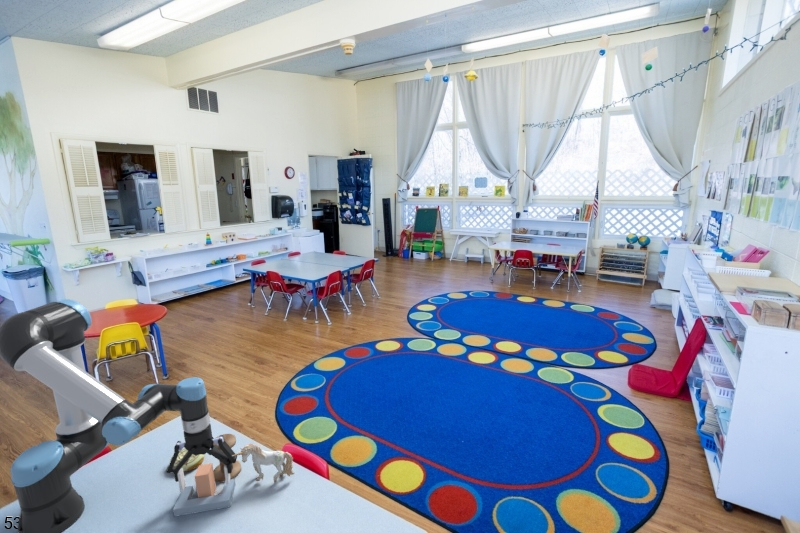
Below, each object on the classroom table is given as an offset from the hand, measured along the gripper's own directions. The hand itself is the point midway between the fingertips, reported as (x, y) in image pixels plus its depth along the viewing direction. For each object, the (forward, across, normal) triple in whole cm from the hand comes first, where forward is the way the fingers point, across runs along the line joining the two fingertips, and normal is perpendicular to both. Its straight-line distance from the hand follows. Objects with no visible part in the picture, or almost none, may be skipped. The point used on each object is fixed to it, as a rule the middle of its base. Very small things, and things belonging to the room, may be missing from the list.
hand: (205, 484), depth 126 cm
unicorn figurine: (+4, +17, 0) cm, 18 cm away
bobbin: (+4, +4, +10) cm, 11 cm away
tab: (+4, 0, 0) cm, 4 cm away
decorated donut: (+5, -11, +18) cm, 21 cm away
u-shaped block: (+4, 0, -2) cm, 5 cm away
